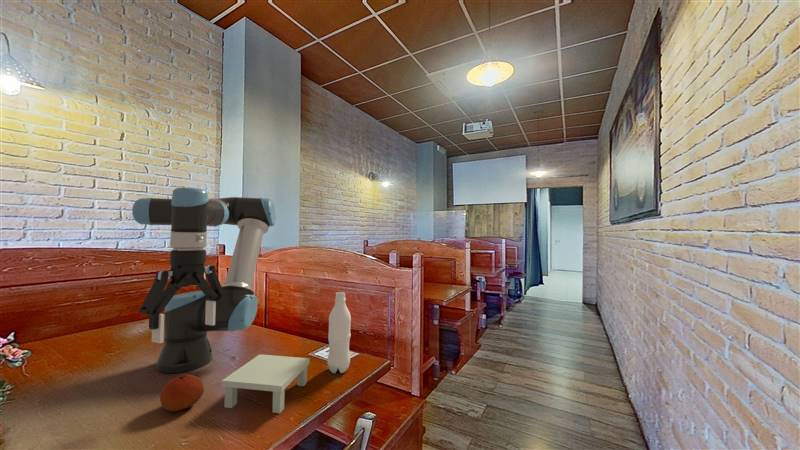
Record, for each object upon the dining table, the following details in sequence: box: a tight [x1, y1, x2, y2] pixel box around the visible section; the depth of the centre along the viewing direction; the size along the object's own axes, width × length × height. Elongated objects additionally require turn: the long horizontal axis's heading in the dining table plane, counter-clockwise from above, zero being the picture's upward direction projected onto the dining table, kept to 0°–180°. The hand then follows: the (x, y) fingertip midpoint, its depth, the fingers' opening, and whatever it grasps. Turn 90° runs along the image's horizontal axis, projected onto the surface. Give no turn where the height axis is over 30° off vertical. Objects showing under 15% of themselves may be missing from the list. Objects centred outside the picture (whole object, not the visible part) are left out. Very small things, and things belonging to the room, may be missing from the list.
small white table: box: [221, 353, 311, 414], centre depth 82 cm, size 16×16×7 cm
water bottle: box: [327, 291, 352, 374], centre depth 97 cm, size 7×7×25 cm
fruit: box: [159, 373, 205, 412], centre depth 76 cm, size 9×9×8 cm
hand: (186, 332), depth 76 cm, fingers open, 13 cm apart
